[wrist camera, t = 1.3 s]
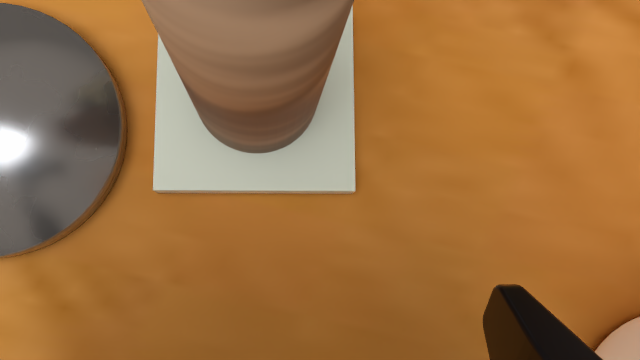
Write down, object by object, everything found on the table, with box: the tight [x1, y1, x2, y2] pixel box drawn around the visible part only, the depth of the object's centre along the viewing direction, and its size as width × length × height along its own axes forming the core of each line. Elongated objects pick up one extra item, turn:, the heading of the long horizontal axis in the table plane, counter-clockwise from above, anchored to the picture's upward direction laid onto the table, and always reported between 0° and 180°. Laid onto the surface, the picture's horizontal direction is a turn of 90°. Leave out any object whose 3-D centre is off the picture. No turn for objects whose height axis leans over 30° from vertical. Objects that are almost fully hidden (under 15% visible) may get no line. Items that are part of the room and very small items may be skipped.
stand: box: [153, 5, 355, 194], centre depth 23 cm, size 8×8×1 cm
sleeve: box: [142, 0, 354, 153], centre depth 16 cm, size 5×5×13 cm
